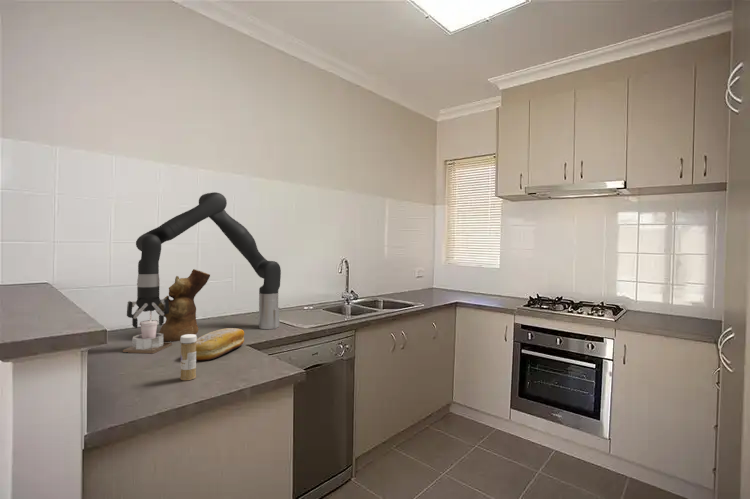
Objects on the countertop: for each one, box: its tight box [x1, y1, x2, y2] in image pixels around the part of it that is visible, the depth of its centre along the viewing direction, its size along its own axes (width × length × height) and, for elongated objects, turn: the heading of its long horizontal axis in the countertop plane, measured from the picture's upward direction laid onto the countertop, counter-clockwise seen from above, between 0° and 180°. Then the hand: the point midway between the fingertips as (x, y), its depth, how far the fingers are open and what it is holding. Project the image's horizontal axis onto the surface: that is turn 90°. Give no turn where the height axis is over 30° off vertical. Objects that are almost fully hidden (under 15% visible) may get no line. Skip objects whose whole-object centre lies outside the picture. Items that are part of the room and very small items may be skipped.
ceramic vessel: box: [155, 268, 211, 343], centre depth 172 cm, size 16×22×30 cm
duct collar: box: [122, 332, 173, 354], centre depth 153 cm, size 12×12×5 cm
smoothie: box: [139, 311, 159, 339], centre depth 153 cm, size 6×6×14 cm
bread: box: [196, 327, 245, 362], centre depth 150 cm, size 13×26×8 cm, turn 171°
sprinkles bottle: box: [179, 334, 198, 381], centre depth 120 cm, size 5×5×14 cm
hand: (148, 326), depth 153 cm, fingers open, 8 cm apart
